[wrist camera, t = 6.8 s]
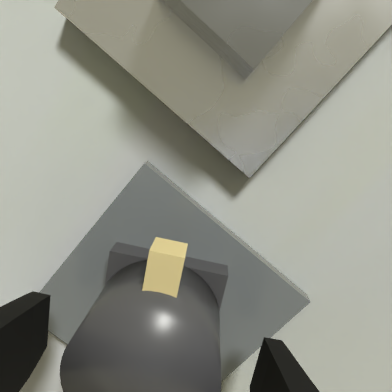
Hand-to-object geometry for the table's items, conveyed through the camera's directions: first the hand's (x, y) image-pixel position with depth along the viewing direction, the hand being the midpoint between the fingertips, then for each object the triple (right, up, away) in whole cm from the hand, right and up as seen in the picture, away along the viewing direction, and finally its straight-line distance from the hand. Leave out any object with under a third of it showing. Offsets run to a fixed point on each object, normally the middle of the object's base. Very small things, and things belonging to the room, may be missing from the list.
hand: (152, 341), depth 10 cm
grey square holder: (+3, +11, -1) cm, 11 cm away
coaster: (0, +1, +2) cm, 2 cm away
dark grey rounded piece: (0, +1, +2) cm, 2 cm away
